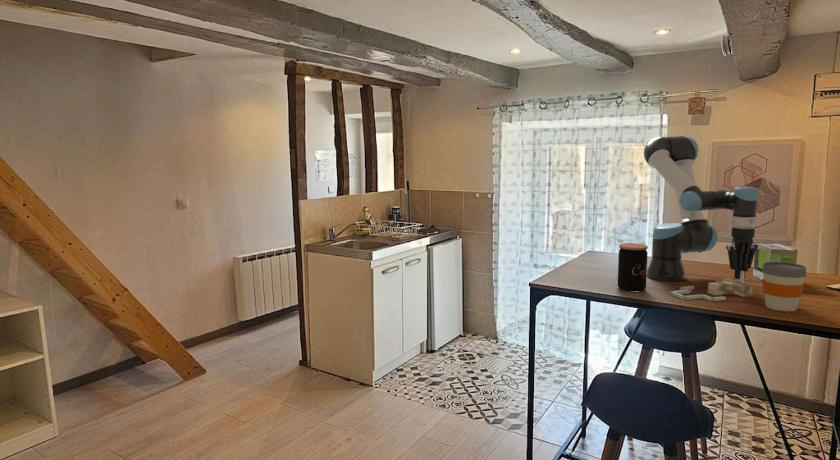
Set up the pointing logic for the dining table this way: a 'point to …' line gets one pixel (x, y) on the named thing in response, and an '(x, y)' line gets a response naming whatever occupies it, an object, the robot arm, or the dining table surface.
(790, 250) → the tea box
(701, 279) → the dining table surface
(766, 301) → the reusable coffee cup
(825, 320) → the dining table surface
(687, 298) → the t outline
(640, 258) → the coffee jar
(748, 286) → the t block
